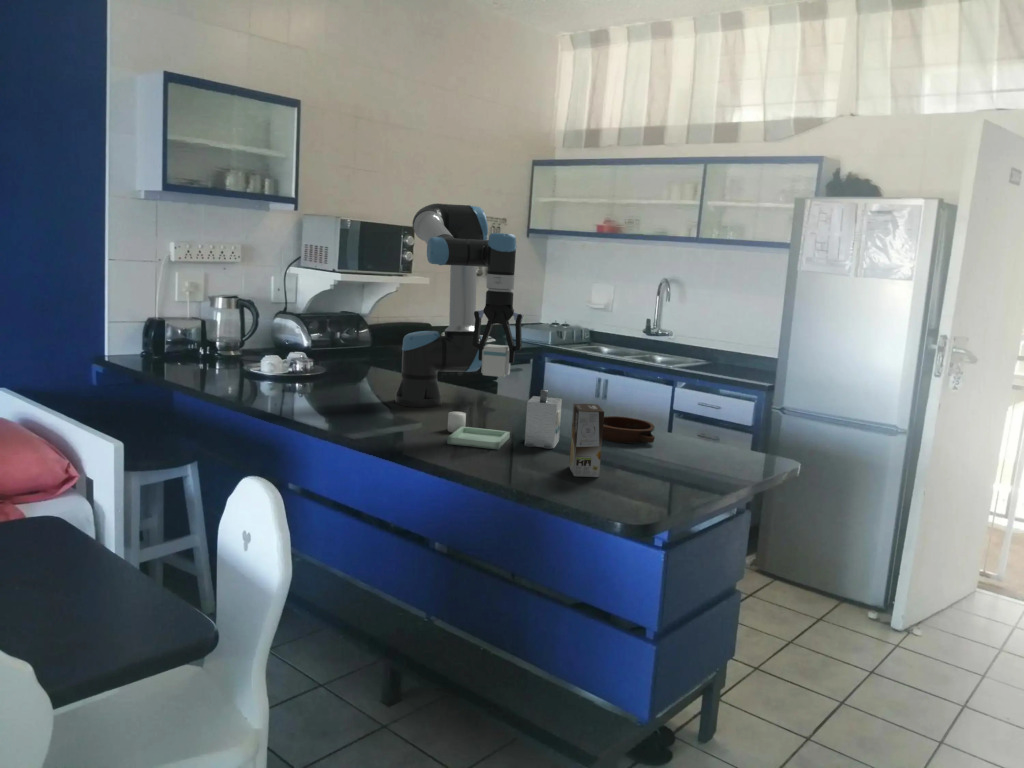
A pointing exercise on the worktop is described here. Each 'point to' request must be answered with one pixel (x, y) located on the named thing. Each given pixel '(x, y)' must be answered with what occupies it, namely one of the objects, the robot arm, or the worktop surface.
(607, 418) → the dish
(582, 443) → the coffee box
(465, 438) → the tray
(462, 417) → the cream knob
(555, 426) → the box
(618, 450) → the worktop surface
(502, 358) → the block
